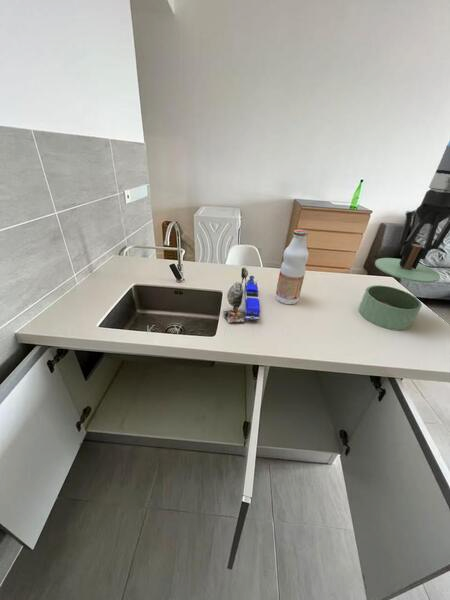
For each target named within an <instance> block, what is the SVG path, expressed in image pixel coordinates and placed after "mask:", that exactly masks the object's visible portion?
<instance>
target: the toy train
mask: <svg viewBox="0 0 450 600" xmlns="http://www.w3.org/2000/svg"><path fill="white" fill-rule="evenodd" d="M248 277H249V278H248V280H246V281H245V280H244V316H245V320H246V321H249V320H251V321H259V320H260V314H261V306H260V296H259V288H258V280H257V279H256V280H255V276H254V275H248Z"/></svg>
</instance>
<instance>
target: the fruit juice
mask: <svg viewBox="0 0 450 600" xmlns="http://www.w3.org/2000/svg"><path fill="white" fill-rule="evenodd" d="M292 235H293V237H292V239H291V240H290V243H289V244H288V246H287V247H286V248H285V249H284V250H283V253H282V254H283V255H282V257H283V261H282V263H281V264H280V268H279V273H278V279H277V285H276V291H275V299H276V301H278V302H279V303H281V304H283V305H284V304H285V305H294V304H297V303H298V302H299V300H300V295H301V292H302V288H303V283H304V279H305V275H306V271H307V270H306V269H307V266H306V263H308V260H309V256H310V253H309V250H308V246H307V237H308V235H309V231H308V230H305V229H293V233H292Z"/></svg>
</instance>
